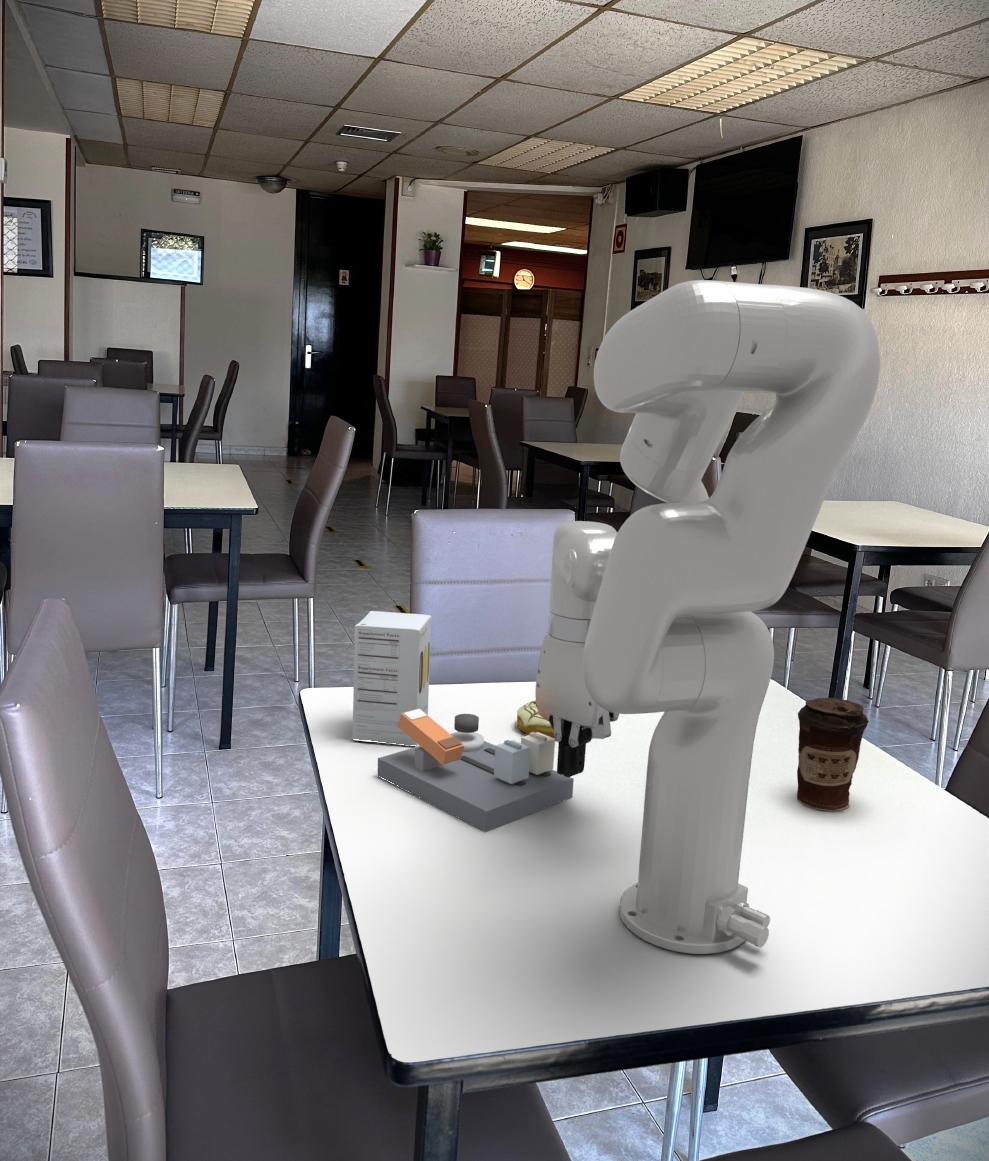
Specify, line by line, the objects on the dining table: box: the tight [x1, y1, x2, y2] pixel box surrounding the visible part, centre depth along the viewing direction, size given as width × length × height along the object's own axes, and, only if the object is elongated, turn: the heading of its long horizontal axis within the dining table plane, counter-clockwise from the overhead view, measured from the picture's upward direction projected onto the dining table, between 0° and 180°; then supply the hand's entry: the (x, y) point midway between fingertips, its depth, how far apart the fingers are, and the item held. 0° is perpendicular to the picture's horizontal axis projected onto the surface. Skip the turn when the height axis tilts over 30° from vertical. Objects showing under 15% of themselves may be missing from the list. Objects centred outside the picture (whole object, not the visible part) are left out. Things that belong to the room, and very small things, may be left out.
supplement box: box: [352, 610, 432, 746], centre depth 143 cm, size 10×9×17 cm
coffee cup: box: [796, 697, 870, 812], centre depth 127 cm, size 9×8×13 cm
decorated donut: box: [516, 699, 583, 739], centre depth 150 cm, size 10×11×4 cm
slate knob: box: [494, 739, 530, 784], centre depth 124 cm, size 3×3×4 cm
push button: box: [453, 713, 480, 733], centre depth 135 cm, size 3×3×2 cm
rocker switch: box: [398, 709, 464, 765], centre depth 127 cm, size 9×3×2 cm, turn 45°
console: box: [377, 731, 575, 832], centre depth 128 cm, size 20×15×5 cm
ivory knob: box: [520, 732, 556, 775], centre depth 127 cm, size 3×3×4 cm
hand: (570, 772), depth 123 cm, fingers closed
